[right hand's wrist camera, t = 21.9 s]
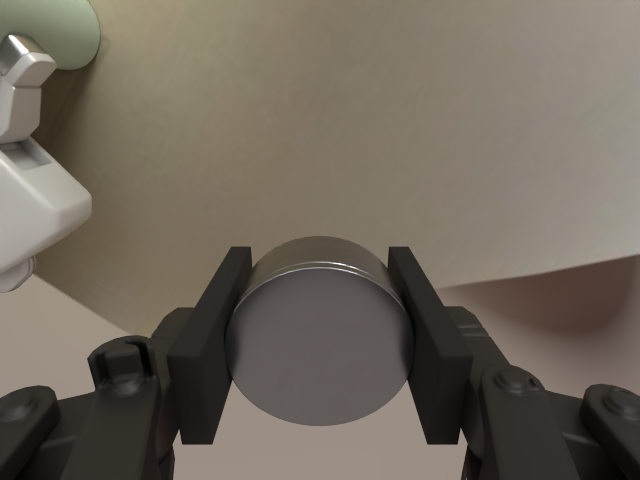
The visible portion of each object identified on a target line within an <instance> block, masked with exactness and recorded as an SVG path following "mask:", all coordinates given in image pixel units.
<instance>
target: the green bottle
mask: <svg viewBox="0 0 640 480" xmlns="http://www.w3.org/2000/svg"><path fill="white" fill-rule="evenodd" d="M12 34H18V35H21V36H23V37H25V38H26V37H27V36H28V37H32V38H33V39H34V40H35V41H36V42H37V43H38V44H39V45H40V46H41V47H42V48H43V49H44V50H45V51H46V53H47V54H48V55H49V56H50V57H51V58H52V59H53V60H54V61H55V62H56V63H57V67H56V69H63V70H75V69H79V68H81V67H84V66H85V65H87V64H88V63H89V62H90V61H91V60H92V59H93V58H94V56H95V55H96V53H97V50H98V48H99V43H100V29H99V24H98V20H97V17H96V15H95V12H94V10H93V8H92V7H91V5H90V4H89V2H88V1H87V0H0V44H1V42H2V41H3V39H4V38H5V37H7V36H9V35H12Z"/></svg>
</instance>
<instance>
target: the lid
mask: <svg viewBox="0 0 640 480" xmlns="http://www.w3.org/2000/svg"><path fill="white" fill-rule="evenodd" d="M224 349H225V358H226V364H227V368H228V370H229V373H230V375H231V377H232V379H233V381H234V383H235V384H236V386H237V387H238V388H239V390H240V391H241V392H242V393H243V395H244V396H245V397H246V398H247V399H249V401H251V402H252V403H253V404H255V405H256V406H257V407H258V408H260V409H262V410H263V411H265V412H267V413H268V414H270V415H273V416H275V417H277V418H279V419H282V420H285V421H288V422H292V423H297V424H302V425H310V426H328V425H337V424H343V423H347V422H351V421H354V420H357V419H360V418H362V417H365V416H367V415H369V414H371V413H373V412H375V411H377V410H378V409H379V408H381V407H382V406H384V405H385V404H386V403H388V402H389V401H390V400H391V399H392V398H393V397H394V396H395V395H396V394H397V393H398V392H399V390H400V389H401V388H402V386H403V385H404V383H405V382H406V380H407V378H408V376H409V374H410V372H411V369H412V366H413V363H414V355H415V334H414V329H413V326H412V323H411V320H410V318H409V315H408V313H407V310H406V308H405V306H404V303H403V301H402V298H401V296H400V293H399V291H398V289H397V286H396V284H395V281H394V279H393V277H392V275H391V274H390V272H389V271H388V269H387V268H386V266H385V265H384V264H383V263H382V262H381V261H380V260H379V259H378V258H377V257H376V256H375V255H374V254H372V253H371V252H370V251H368V250H367V249H365V248H363V247H362V246H360V245H358V244H355V243H353V242H351V241H347V240H344V239H340V238H335V237H328V236H313V237H304V238H300V239H295V240H292V241H289V242H287V243H284V244H282V245H280V246H278V247H276V248H274V249H273V250H271V251H270V252H268V253H267V254H266V255H265V256H263V257H262V258H261V259H260V260H259V261H258V262H257V263H256V265H255V266H254V267H253V268H252V270H251V271H250V273H249V275H248V276H247V278H246V281H245V283H244V285H243V288H242V290H241V293H240V295H239V297H238V300H237V302H236V305H235V307H234V310H233V312H232V315H231V317H230V319H229V322H228V324H227V328H226V332H225V337H224Z"/></svg>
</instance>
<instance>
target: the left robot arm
mask: <svg viewBox="0 0 640 480" xmlns="http://www.w3.org/2000/svg"><path fill="white" fill-rule="evenodd" d="M56 67H57V63H56V62H55V61H54V60H53V59H52V58H51V57H50V56H49V55H48V54H47V53H46V51H45V50H44V49H43V48H42V47H41V46H40V45H39V44H38V43H37V42H36V41H35V40H34V39H33V38H32V37H28V36H27V37H26V38H25V37H23V36H21V35H18V34H12V35H9V36H7V37H5V38H4V39H3V41H2V42H1V44H0V74H1V75H0V293H5V292H9V291H13V290H15V289H16V288H18V287H19V286H20V285H21V284H22V283H23V282H25V281H26V280H27V279H28V278H29V277H30V276H31V275H32V273H33V271H34V270H35V267H36V256H35V255H36V254H38V253H40V252H41V251H43V250H45V249H46V248H48V247H50V246H52V245H53V244H55V243H57V242H58V241H60V240H61V239H63V238H64V237H66V236H67V235H69V234H70V233H71V232H73V231H74V230H76V229H77V228H78V227H79V226H81V225H82V224H83V223H84V222H86V221H87V220H88V219H89V218H90V217H91V215H92V196H91V195H90V193H89V192H88V191H87V190H86V189H85V188H84V187H83V186H82V185H81V184H80V183H79V182H78V181H77V180H75V179H74V178H73V177H72V176H71V175H70V174H69V173H68V172H67V171H66V170H65V169H64V168H63V167H62V166H61V165H60V164H59V163H58V162H57V161H56V160H55V159H54V158H53V157H52V156H51V155H50V154H49V153H47V152H46V151H45V150H44V149H43V148H42V147H41V146H40V145H39V144H38V143H37V142H36V141H35V140H34V139H33V138H32V137H31V136H30V135H31V133H32V132H33V131H34V130H35V129H36V128H37V127H38V126H39V125H40V107H41V88H40V86H41V85H42V84H43V82H44V81H45V80H46V79H47V78H48V77H49V76H50V75H51V74H52V72H53V71H54V70H55V69H56Z"/></svg>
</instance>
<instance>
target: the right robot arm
mask: <svg viewBox="0 0 640 480" xmlns="http://www.w3.org/2000/svg"><path fill="white" fill-rule="evenodd" d="M387 269H388V271H389V272H390V274H391V275H392V277H393V279H394V281H395V284H396V286H397V289H398V291H399V293H400V296H401V298H402V301H403V303H404V306H405V308H406V310H407V313H408V315H409V318H410V320H411V323H412V326H413V329H414V334H415V355H414V363H413V366H412V369H411V372H410V374H409V376H408V378H407V380H408V383H409V387H410V390H411V393H412V396H413V399H414V403H415V406H416V409H417V412H418V416H419V419H420V422H421V425H422V428H423V432H424V435H425V438H426V441H427V444H436V445H439V444H441V445H443V444H446V445H447V444H448V445H450V444H454V445H457V444H458V439H459V434H460V428H461V429H462V431H463V434H464V436H465V438H466V441H467V443H468V445H467V450H466V455H465V461H464V466H463V471H462V477H461V480H466V478H467V480H640V396H638V395H636V394H634V393H633V392H631V391H629V390H626V389H623V388H620V387H617V386H613V385H606V384H596V385H591V386H590V387H589V388H587V389H586V391H585V394H584V397H583V399H581V398H576V397H572V396H567V395H563V394H558V393H554V392H550V391H547V390H545V388H544V387H543V385H542V384H541V382H540V381H539V380H538V379H537V378H536V377H534V376H533V375H532V374H531V373H529V372H527V371H525V370H523V369H521V368H519V367H516V366H513V365H510V364H509V362H508V361H507V359H506V358H505V357H504V355H503V354H502V352H501V351H500V350H499V348H498V347H497V345H496V344H495V343H494V341H493V340H492V338H491V337H489V335H488V333H487V332H486V330H485V329H484V328H482V325H481V323H480V322H479V320H478V319H477V318H476V316H475V315H474V314H472V313H471V312H469V311H468V310H466V309H465V308H463V307H459V306H457V307H456V306H452V307H451V306H446V307H445V306H444V305H443V304H442V302H441V300H440V299H439V297H438V295H437V294H436V292H435V290H434V289H433V287H432V285H431V284H430V282H429V280H428V279H427V277H426V275H425V274H424V272H423V270H422V269H421V267H420V265H419V264H418V262H417V260H416V259H415V257H414V255H413V254H412V252H411V250H410V249H409V247H389V254H388V268H387ZM251 270H252V257H251V247H231V248H230V250H229V252H228V253H227V255H226V257H225V258H224V260H223V262H222V263H221V265H220V267H219V268H218V270H217V272H216V273H215V275H214V277H213V278H212V280H211V282H210V283H209V285H208V287H207V288H206V290H205V292H204V293H203V295H202V297H201V298H200V300H199V302H198V303H197V305H196V307H195V308H177V309H175V310H174V311H172V312H171V313H169V314H168V315H167V316H165V317H164V319H163V320H162V321H161V323H160V324H159V326H158V329H156V330H155V331H154V333H153V334H152V337H151V338H149V339H148V338H147V337H143V336H139V335H135V336H125V337H120V338H116V339H113V340H111V341H109V342H106V343H104V344H102V345H101V346H99V347H98V348H97V349H95V350H94V351H93V352H92V353H91V354H90V356H89V357H88V358H87V360H88V363H89V367H90V371H91V374H92V378H93V381H94V385H95V391H94V392H91V393H88V394H84V395H80V396H75V397H71V398H67V399H62V400H57V398H56V395H55V392H54V391H53V390H52V389H51V388H50V387H47V386H39V385H38V386H31V387H25V388H22V389H19V390H16V391H13V392H11V393H9V394H7V395H5V396H3V397H1V398H0V480H173V473H174V463H175V457H174V450H173V445H172V444H173V442H174V440H175V437H176V435H177V433H178V430H180V435H181V441H182V444H183V445H185V444H186V445H187V444H189V445H191V444H192V445H194V444H195V445H197V444H213V440H214V437H215V434H216V431H217V428H218V424H219V421H220V418H221V415H222V411H223V408H224V405H225V402H226V399H227V396H228V392H229V389H230V386H231V383H232V380H233V379H232V377H231V375H230V373H229V370H228V368H227V364H226V358H225V349H224V337H225V332H226V328H227V324H228V322H229V319H230V317H231V315H232V312H233V310H234V307H235V305H236V302H237V300H238V297H239V295H240V293H241V290H242V288H243V285H244V283H245V281H246V278H247V276H248V275H249V273H250V271H251Z"/></svg>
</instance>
